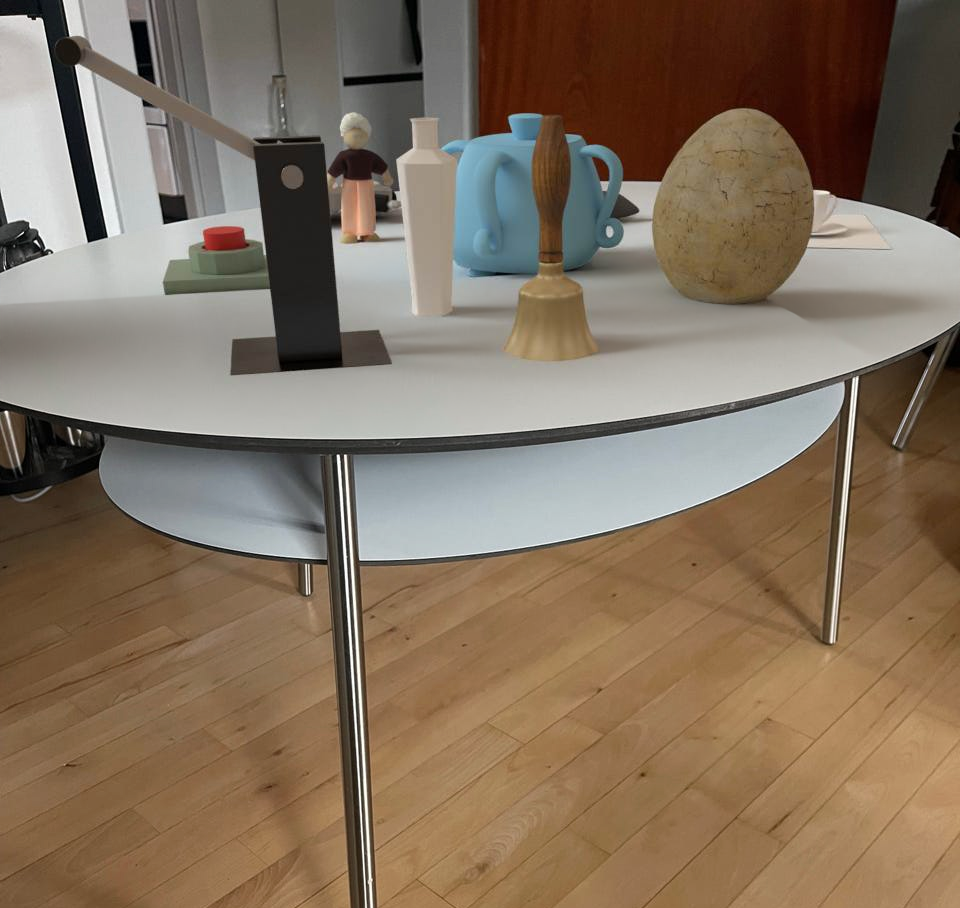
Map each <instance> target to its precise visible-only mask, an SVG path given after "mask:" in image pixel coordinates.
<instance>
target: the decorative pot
mask: <svg viewBox="0 0 960 908" xmlns="http://www.w3.org/2000/svg"><path fill="white" fill-rule="evenodd" d="M542 116H544V115H543V114H541V113H530V112H529V113H526V112H525V113H514V114H511V115H509V116H508V117H507V119H508V124H509V125H510V130H511V132H506V133H505V132H504V133H495V134H488V135H483V136H479V137H475V138H472V139H470V140H465V139H456V140H453V141H451V142H448V143H446V144H445V145H444V146H442V148H440V149H441V150H443V151H445V152H446V153H448V154H450V155H451V156H452V154H454V153H459V152H461V156H460V159H459V161H458V163H457V173H456V199H455V225H454V250H453V262H455V264H456V265H457V266H458V267H461V268H463V269H468V270H469V269H470V270H469V271H468V273H467V276H469V277H472V278H485V277H494V276H495V275H496V273H505V274H520V275H523V274H524V275H538V272H539V262H540V260H539V259H538V254H539V252H540V250H539V232H540V221H539V214H538V210H537V206H536V202H535V198H534V193H533V186H532V157H533V151H534V147H535V143H536V140H537V136H538V133H539V129H540V125H541V120H542ZM565 135H566V139H567V142H568V146H569V151H570V157H571V181H570V189H569V195H568V199H567V203H566V206H565V209H564V214H563V220H562V241H563V249H562V252H563V271H564V272H566V271H569V270H573V269H578V268H581V266H584V265H586V264H588V263H589V262H590V261H591V260H592V259H593V258H594V256H595V255H596V254H597V252H598V251H599V249H600V248H602V249H612V248H616V247H617V246H618V245H619V244H621V242H622V240H623V238H624V233H625V229H624V226H623V224H622V222H621V221H620V219H616V218H610V216H611V213H612V211H613V208H614V206H615V203H616V200H617V198H618V195H619V194H620V192H621V188H622V185H623V179H624V168H623V165H622V162H621V160H620V158H619V157H618V155H617V154H616V153H615V152H614V151H612V150H611V149H610V148H608V147H606V146H604V145H602V144H601V145H600V144H589V145H588V144H587V142H586V140H585V139H584V138H583V136H581V135H578V134H570V133H569V134H568V133H565ZM593 158H597V159H600V160H601V161H603V162H605V164H606V165H607V167H608V170H609V172H608V173H609V177H608V185H607V189H606V191H607V192H606V195H605V198H604V195H603V191H604V190H603V187H602V183H601V180H600V177H599V174H598V171H597V168H596V165H595V162H594V159H593ZM608 227H611V229H612V236H610V237H609V236H608V233H607V228H608Z"/></svg>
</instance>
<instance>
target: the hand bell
mask: <svg viewBox="0 0 960 908" xmlns="http://www.w3.org/2000/svg"><path fill="white" fill-rule="evenodd" d="M565 134H566V132H565V128H564V124H563V117H562V115H561V114H560V115H559V114H545V115H543V116H542V120H541V125H540V129H539V133H538V136H537V140H536V143H535V147H534V151H533V157H532V186H533V193H534V198H535V202H536V206H537V210H538V214H539V221H540V232H539V250H540V252H539V254H538V259H539V260H540V262H539V272H538V274H536V276H535V277H533V278H531V279H530V280H529V281H527V282H525V283H523V284H522V285H521V286H520V287H519V290H518V297H517V305H516V306H517V307H516V314H515V318H514V322H513V325H512V329H511V331H510V334H509V335H508V338H507V339H506V341H505V343H504V344H503V346H502V349H503V351H504V352H505V353H506V354H508V355H510V356H512V357H515V358H517V359H519V358H520V359H522V360H527V361H535V362H566V361H567V362H568V361H574V360H581V359H584V358H587V357H590V356H593V355H595V354H596V353H597V352H598V351H599V348H600V347H599V344H598V343H597V342H596V340H595V339H594V336H593V335H592V332H591V329H590V328H589V327H590V326H589V324H588V319H587V315H586V309H585V308H586V307H585V301H584V290H583V286H582V285H581V284H580V283H579V282H576V281H575V280H573V279H572V278H570V277H568V276H567V275H566V274H565V271H563V252H562V249H563V241H562V220H563V214H564V209H565V206H566V203H567V199H568V195H569V189H570V181H571V157H570V151H569V146H568V142H567V139H566V135H565Z"/></svg>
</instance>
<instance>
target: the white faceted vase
mask: <svg viewBox="0 0 960 908" xmlns="http://www.w3.org/2000/svg"><path fill="white" fill-rule="evenodd" d="M409 121H410V122H411V132H412V133H411V135H412V148H411V149H409V150H407V151H406V152H405V153H403V154H402V155H400V156H399V157H397V158H396V159H395V160H396V168H397V170H396V171H397V177H398V178H397V179H398V186H399V196H400V202H401V206H402V207H401V215H402V222H403V223H402V224H403V232H404V241H405V242H404V243H405V250H406V251H405V252H406V257H407V267H408V277H409V284H410V292H411V302H412V303H411V304H412V307H411V312H412V313H413V314H414V315H415V316H416V317H444V316H446V315H448V314H450V313H451V312H453V305H452V298H453V272H454V260H453V250H454V225H455V199H456V173H457V166H458V158H456V157H454V156H453V155H452V154H451V155H450V154H448V153H446V152H445V151H443V150H441V149H442V148H440V147H439V132H438V122H439V121H440V118H439V117H413V118H409Z"/></svg>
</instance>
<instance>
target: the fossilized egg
mask: <svg viewBox="0 0 960 908" xmlns="http://www.w3.org/2000/svg"><path fill="white" fill-rule="evenodd" d="M813 190H814V188H813V183H812V178H811V174H810V170H809V168H808V166H807V164H806V161H805V158H804V156H803V154H802V152H801V151H800V148H799V147H798V146H797V144H796V142H795V140H794V139H793V137H792V136H791V135H790V134H789V132H788V131H787V130H786V129H785V127H784V126H783V125H782V124H780V123H779V122H778V121H777V120H776V119H775V118H774V117H772V116H771V115H769V114H767V113H765V112H762V111H760V110H758V109H754V108H748V107H747V108H746V107H745V108H733V109H729V110H726V111H724V112H721V113H720V114H717V115H715V116H714V117H712V118H711V119H709V120H708V121H706V122H705V123H704V124H702V125H701V126H700V127H699V128H698V129H697V130H696V131H695V132H694V133H693V134H692V135H691V136H690V137H689V138H688V139H687V140H686V141H685V143H684V144H683V145H682V147H681V148H680V149H679V150H678V152H676V154H675V155H674V158H673V160H672V161H671V162H670V164H669V166H668V167H667V168H666V171H665V173H664V175H663V178H662V180H661V182H660V184H659V187H658V190H657V193H656V197H655V200H654V204H653V210H652V218H651V219H652V220H651V232H652V241H653V249H654V251H655V255H656V258H657V261H658V264H659V267H660V269H661V270H662V272H663V274H664V275H665V277H666V279H667V280H668V282H669V284H670V285H671V286H673V288H674V289H675V290H676V291H678V293H680V294H681V295H682V296H683V297H685V298H687V299H690V300H693V301H698V302H703V303H708V304H719V305H720V304H722V305H739V304H750V303H757V302H760V301H762V300H765V299H766V298H768V297H769V296H771V295H772V294H773V293H775V292H776V291H777V290H778V289H779V288H781V287H782V286H783V284H784V283H785V282H786V281H788V280H789V278H790V277H791V276H792V275H793V273H794V272H795V270H797V267H798V266H799V264H800V263H801V261H802V259H803V257H804V255H805V253H806V250H807V248H808V247H807V245H808V242H809V239H810V236H811V233H812V226H813V219H814V194H813Z"/></svg>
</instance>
